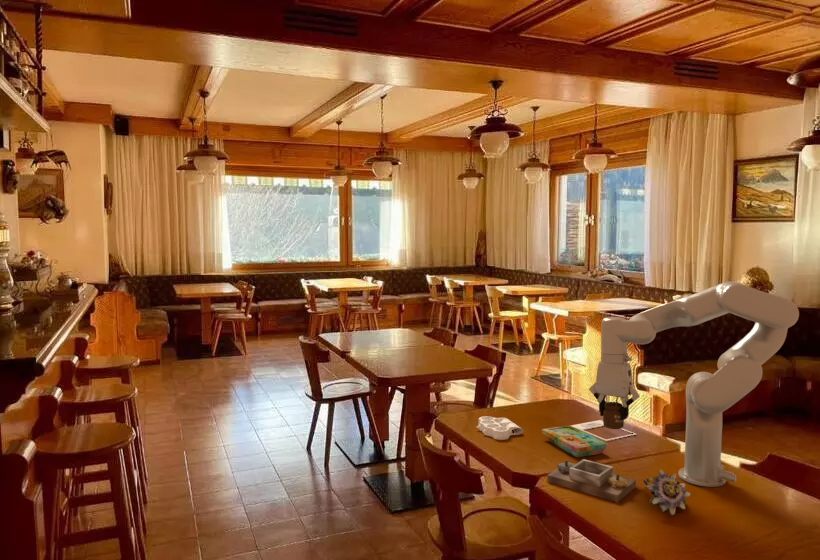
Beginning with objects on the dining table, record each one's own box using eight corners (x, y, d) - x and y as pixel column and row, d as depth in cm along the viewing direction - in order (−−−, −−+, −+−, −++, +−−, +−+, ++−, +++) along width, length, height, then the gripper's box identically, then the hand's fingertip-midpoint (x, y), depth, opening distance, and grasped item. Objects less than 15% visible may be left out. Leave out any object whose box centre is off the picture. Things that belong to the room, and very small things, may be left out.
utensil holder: (599, 426, 186) (599, 388, 185) (609, 422, 191) (609, 384, 190) (617, 431, 182) (618, 391, 181) (627, 426, 186) (627, 387, 186)
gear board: (635, 487, 175) (636, 470, 175) (617, 502, 165) (617, 484, 165) (567, 468, 189) (568, 452, 189) (547, 481, 179) (547, 464, 179)
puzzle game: (575, 445, 196) (541, 426, 215) (575, 460, 197) (541, 439, 215) (606, 441, 200) (570, 423, 219) (605, 455, 201) (570, 435, 219)
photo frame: (600, 419, 235) (636, 433, 219) (600, 422, 235) (636, 436, 219) (570, 425, 228) (605, 439, 212) (570, 427, 228) (605, 443, 212)
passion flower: (670, 534, 159) (655, 505, 154) (642, 508, 169) (627, 480, 164) (703, 507, 161) (689, 477, 156) (674, 483, 171) (659, 455, 166)
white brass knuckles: (527, 438, 217) (488, 442, 213) (505, 422, 235) (469, 426, 230) (527, 428, 217) (488, 432, 213) (505, 414, 234) (469, 417, 230)
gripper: (647, 359, 182) (646, 419, 183) (592, 353, 193) (592, 409, 195) (637, 364, 176) (637, 425, 178) (581, 357, 188) (581, 414, 189)
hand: (613, 416), depth 186 cm, fingers closed on utensil holder, 5 cm apart
